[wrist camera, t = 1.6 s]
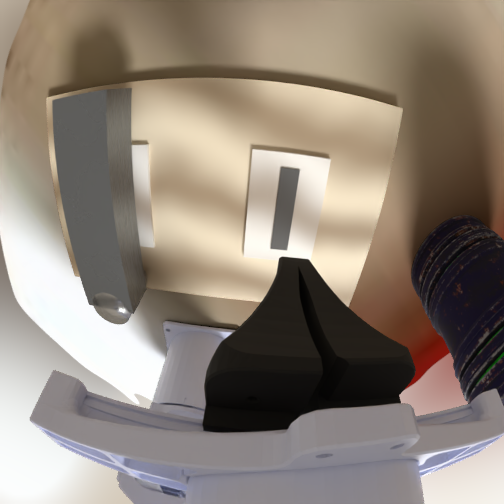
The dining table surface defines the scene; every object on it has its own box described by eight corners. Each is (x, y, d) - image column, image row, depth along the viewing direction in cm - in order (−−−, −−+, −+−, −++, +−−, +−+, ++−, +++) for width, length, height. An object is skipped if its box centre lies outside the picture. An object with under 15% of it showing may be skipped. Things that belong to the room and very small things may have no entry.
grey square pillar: (154, 293, 23) (137, 328, 20) (114, 286, 23) (94, 319, 20) (140, 87, 15) (106, 89, 11) (90, 94, 15) (52, 100, 11)
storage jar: (444, 197, 18) (566, 326, 6) (502, 232, 19) (588, 334, 7) (391, 292, 24) (447, 439, 11) (455, 307, 24) (509, 419, 12)
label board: (345, 302, 24) (348, 311, 23) (78, 271, 24) (73, 278, 23) (397, 107, 15) (405, 109, 14) (52, 96, 15) (43, 98, 14)
